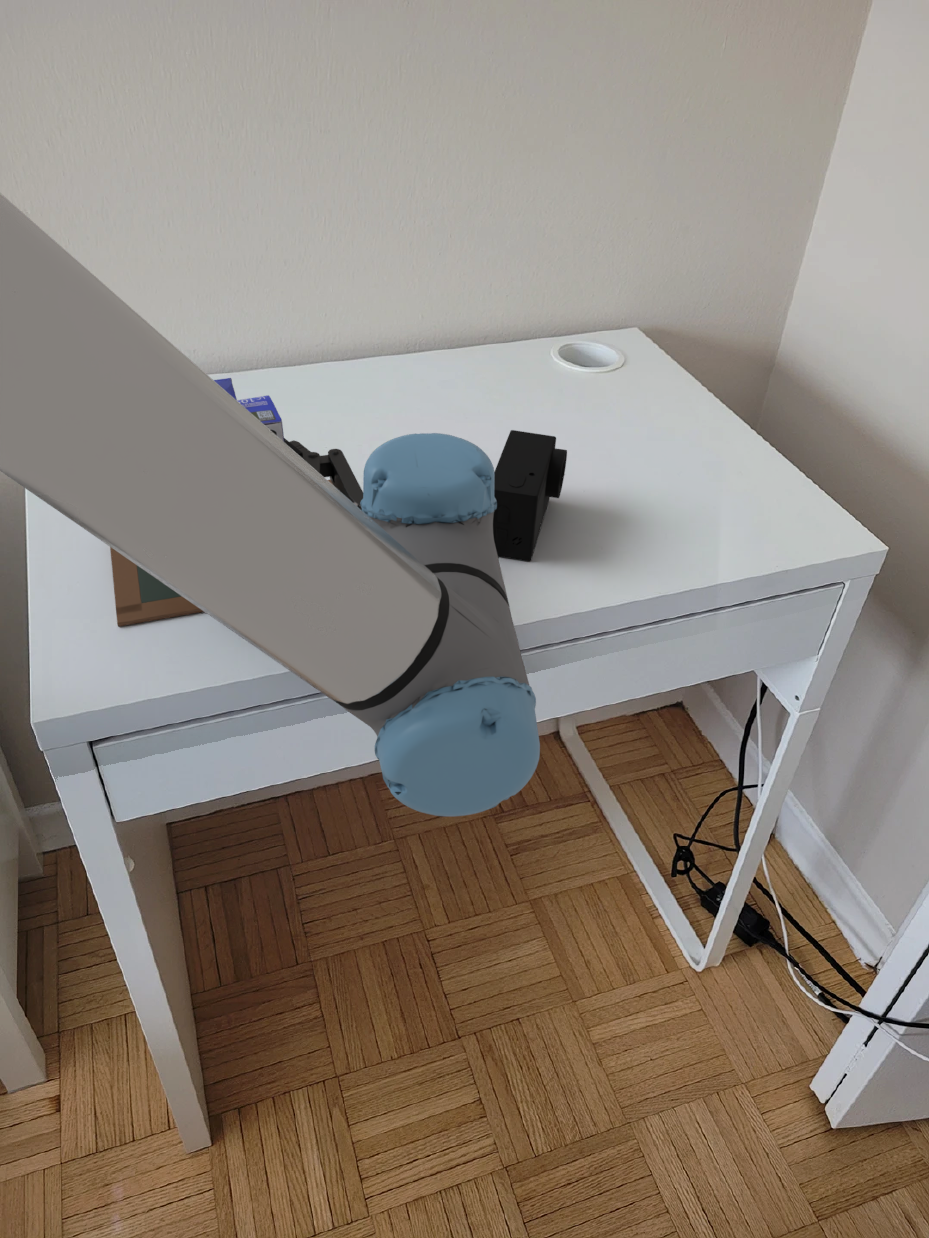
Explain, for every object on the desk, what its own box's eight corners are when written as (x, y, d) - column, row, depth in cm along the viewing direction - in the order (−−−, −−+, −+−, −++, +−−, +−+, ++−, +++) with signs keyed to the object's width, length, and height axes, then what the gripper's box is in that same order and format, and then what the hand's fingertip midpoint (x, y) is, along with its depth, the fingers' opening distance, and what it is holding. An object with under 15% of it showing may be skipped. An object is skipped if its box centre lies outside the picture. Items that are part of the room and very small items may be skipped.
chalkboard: (118, 626, 75) (116, 622, 75) (107, 515, 86) (106, 511, 86) (388, 579, 81) (387, 574, 80) (344, 480, 92) (344, 476, 92)
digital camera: (543, 565, 83) (551, 498, 78) (483, 555, 84) (487, 488, 79) (561, 501, 91) (569, 437, 86) (505, 492, 92) (510, 428, 87)
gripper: (205, 691, 65) (79, 537, 78) (468, 569, 76) (320, 452, 89) (189, 607, 60) (57, 458, 73) (472, 491, 71) (315, 379, 84)
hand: (202, 455), depth 81 cm, fingers closed on ink cartridge box, 11 cm apart
